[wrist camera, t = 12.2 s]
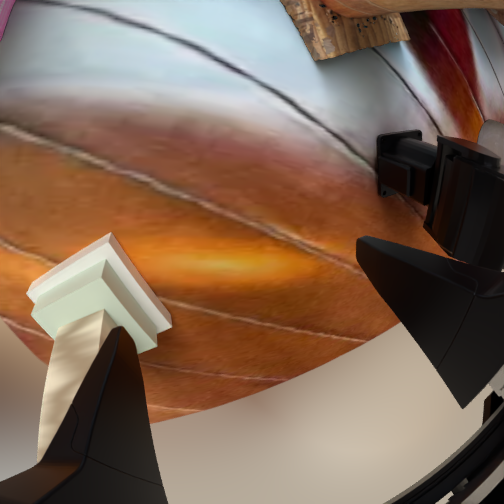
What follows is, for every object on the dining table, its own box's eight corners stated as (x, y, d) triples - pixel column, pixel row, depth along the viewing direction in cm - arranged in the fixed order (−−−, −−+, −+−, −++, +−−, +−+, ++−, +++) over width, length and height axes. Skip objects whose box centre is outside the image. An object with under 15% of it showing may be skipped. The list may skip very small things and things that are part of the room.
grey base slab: (112, 227, 20) (108, 241, 18) (170, 309, 26) (172, 326, 24) (34, 277, 20) (26, 293, 18) (95, 343, 25) (93, 361, 23)
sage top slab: (106, 258, 19) (101, 277, 17) (156, 325, 23) (157, 346, 21) (38, 295, 18) (30, 315, 16) (91, 352, 23) (89, 371, 21)
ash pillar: (104, 308, 18) (96, 466, 8) (137, 349, 21) (151, 486, 11) (58, 327, 17) (37, 467, 8) (92, 364, 20) (93, 489, 10)
